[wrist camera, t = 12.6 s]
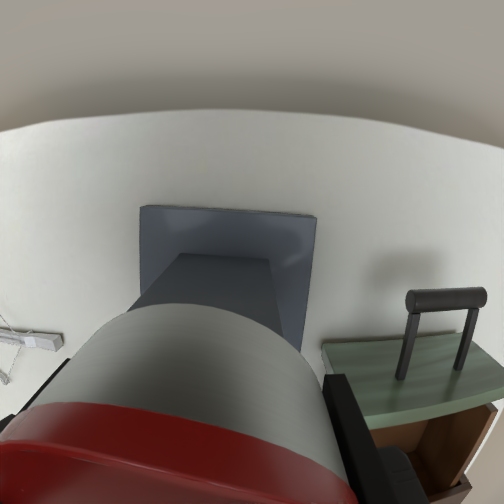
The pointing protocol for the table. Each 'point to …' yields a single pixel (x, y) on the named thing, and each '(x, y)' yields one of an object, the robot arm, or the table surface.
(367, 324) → the table surface
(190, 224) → the pedestal
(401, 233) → the table surface
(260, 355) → the tin
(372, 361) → the drawer
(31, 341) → the crossbow
